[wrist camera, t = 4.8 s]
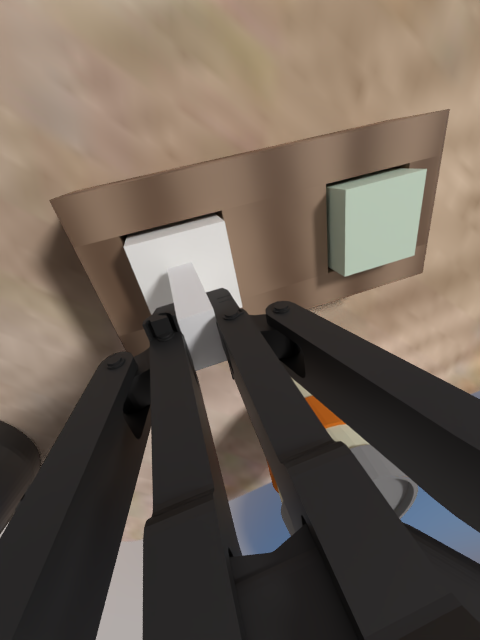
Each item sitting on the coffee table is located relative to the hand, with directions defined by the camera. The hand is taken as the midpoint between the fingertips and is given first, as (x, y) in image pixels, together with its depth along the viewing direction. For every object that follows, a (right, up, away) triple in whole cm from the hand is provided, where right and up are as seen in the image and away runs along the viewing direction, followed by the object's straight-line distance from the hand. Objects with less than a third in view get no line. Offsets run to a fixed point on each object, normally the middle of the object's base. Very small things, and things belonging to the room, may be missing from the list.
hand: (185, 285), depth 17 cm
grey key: (-1, +3, +5) cm, 6 cm away
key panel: (+5, +6, +8) cm, 11 cm away
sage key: (+12, +7, +7) cm, 15 cm away
